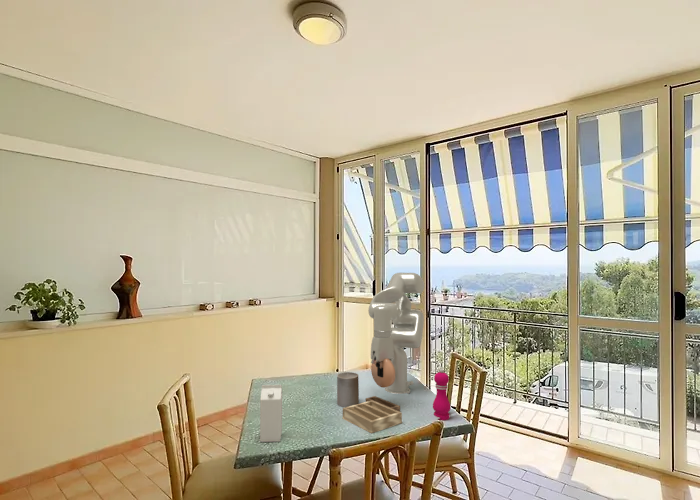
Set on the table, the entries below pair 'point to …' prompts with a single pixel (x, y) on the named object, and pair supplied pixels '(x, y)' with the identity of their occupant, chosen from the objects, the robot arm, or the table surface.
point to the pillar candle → (347, 389)
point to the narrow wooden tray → (384, 402)
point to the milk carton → (271, 413)
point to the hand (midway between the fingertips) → (382, 375)
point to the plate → (384, 373)
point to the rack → (372, 416)
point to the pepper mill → (441, 396)
